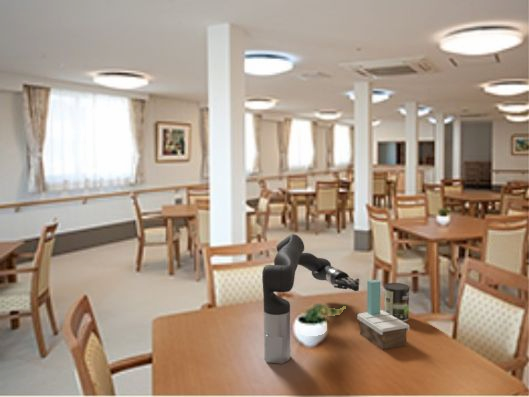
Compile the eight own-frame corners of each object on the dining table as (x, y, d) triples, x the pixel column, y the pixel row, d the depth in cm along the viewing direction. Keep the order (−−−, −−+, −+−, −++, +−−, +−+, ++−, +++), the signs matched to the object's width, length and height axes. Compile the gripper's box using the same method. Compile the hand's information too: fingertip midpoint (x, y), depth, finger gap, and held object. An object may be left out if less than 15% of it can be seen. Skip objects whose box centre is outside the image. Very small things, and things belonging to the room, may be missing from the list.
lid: (409, 330, 170) (410, 290, 168) (381, 334, 166) (381, 293, 164) (383, 315, 185) (384, 278, 184) (357, 319, 181) (357, 281, 180)
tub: (406, 346, 170) (406, 328, 170) (382, 350, 167) (383, 332, 166) (381, 330, 185) (381, 313, 185) (359, 334, 182) (360, 317, 181)
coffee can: (412, 316, 200) (412, 285, 198) (403, 324, 192) (404, 291, 190) (389, 312, 206) (389, 281, 205) (380, 318, 198) (380, 287, 196)
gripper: (324, 271, 206) (343, 281, 190) (350, 268, 210) (371, 278, 194) (324, 287, 207) (342, 299, 191) (350, 284, 211) (370, 295, 195)
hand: (357, 288), depth 192 cm, fingers closed
